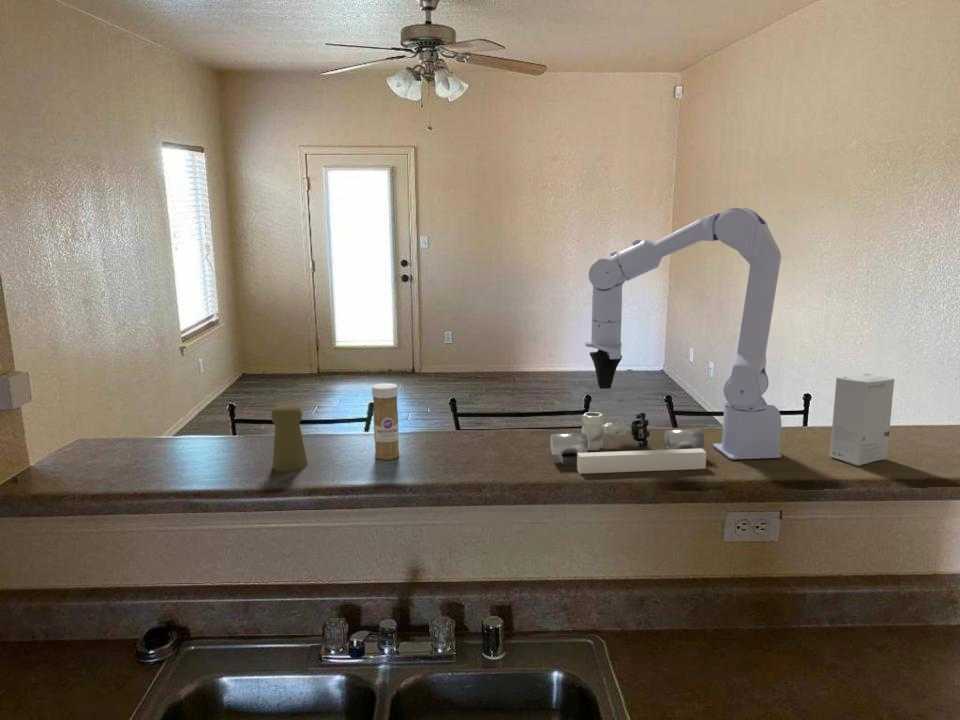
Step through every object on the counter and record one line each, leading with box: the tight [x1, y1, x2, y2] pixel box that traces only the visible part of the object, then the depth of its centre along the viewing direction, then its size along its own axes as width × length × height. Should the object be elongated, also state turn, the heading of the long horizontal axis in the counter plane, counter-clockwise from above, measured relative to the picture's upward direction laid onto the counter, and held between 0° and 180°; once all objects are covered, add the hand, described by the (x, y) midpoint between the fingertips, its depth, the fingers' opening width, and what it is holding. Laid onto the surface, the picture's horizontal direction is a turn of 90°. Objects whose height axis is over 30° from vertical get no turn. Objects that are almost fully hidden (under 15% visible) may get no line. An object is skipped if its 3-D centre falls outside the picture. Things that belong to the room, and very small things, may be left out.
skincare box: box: [829, 373, 895, 467], centre depth 123 cm, size 8×6×15 cm
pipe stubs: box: [550, 428, 705, 466], centre depth 124 cm, size 27×4×5 cm, turn 95°
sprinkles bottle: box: [371, 382, 400, 460], centre depth 126 cm, size 5×5×13 cm
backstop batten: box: [576, 448, 707, 475], centre depth 119 cm, size 22×2×3 cm, turn 95°
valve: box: [581, 411, 651, 451], centre depth 131 cm, size 7×7×12 cm
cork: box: [270, 403, 309, 473], centre depth 122 cm, size 6×6×11 cm
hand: (604, 387), depth 139 cm, fingers closed
